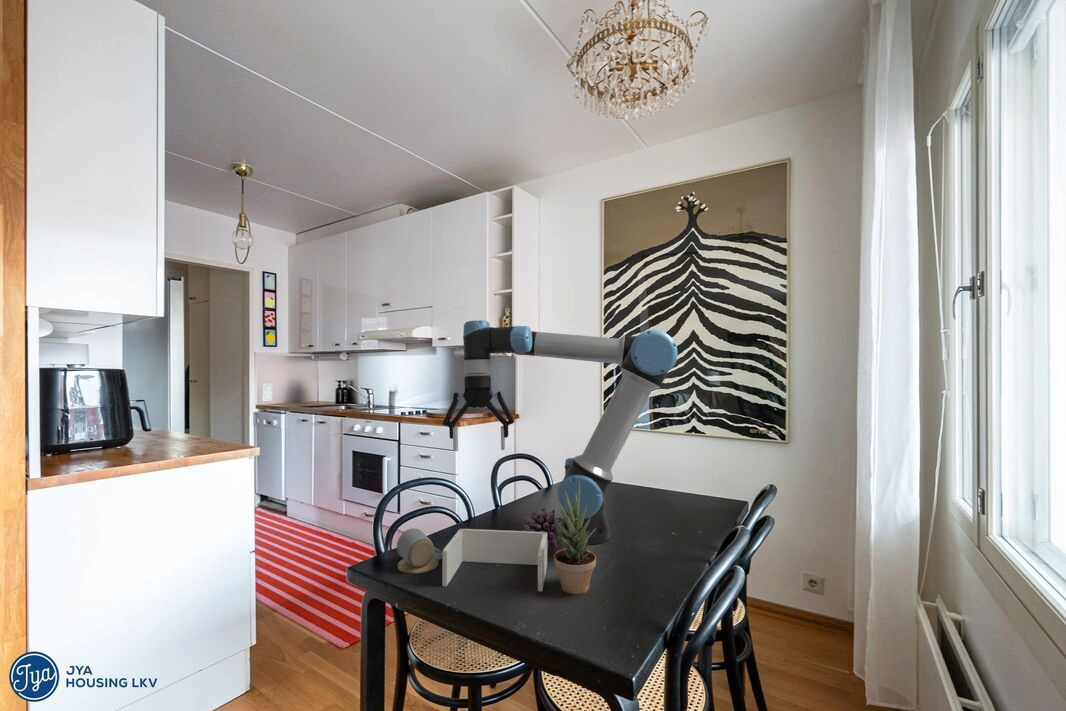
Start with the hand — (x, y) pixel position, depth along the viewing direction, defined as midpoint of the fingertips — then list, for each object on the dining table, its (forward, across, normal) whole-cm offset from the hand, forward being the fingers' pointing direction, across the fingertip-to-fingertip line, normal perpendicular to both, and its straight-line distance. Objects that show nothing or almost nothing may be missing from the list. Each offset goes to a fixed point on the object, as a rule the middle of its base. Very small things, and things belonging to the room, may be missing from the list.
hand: (479, 449), depth 132 cm
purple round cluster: (+28, -18, +3) cm, 33 cm away
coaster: (+26, +14, +14) cm, 33 cm away
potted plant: (+28, -26, +24) cm, 45 cm away
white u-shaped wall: (+27, -7, +18) cm, 33 cm away
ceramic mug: (+26, +13, +13) cm, 32 cm away
